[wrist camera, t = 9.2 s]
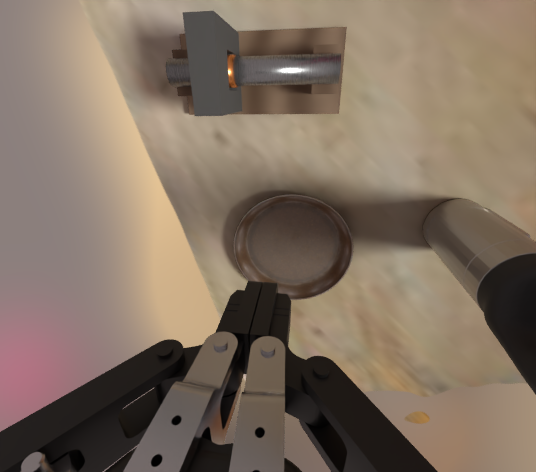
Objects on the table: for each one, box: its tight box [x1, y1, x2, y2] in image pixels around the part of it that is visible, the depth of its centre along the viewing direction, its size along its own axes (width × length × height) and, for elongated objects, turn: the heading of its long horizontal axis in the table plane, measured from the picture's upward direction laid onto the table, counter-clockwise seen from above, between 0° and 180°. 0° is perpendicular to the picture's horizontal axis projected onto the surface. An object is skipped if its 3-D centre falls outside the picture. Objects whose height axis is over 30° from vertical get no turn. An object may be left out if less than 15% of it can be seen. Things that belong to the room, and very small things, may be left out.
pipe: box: [166, 53, 341, 88], centre depth 33 cm, size 20×3×3 cm, turn 91°
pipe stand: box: [172, 27, 347, 115], centre depth 37 cm, size 22×10×7 cm, turn 91°
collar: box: [183, 11, 242, 116], centre depth 33 cm, size 3×9×10 cm, turn 1°
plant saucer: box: [234, 195, 353, 300], centre depth 51 cm, size 21×21×3 cm
